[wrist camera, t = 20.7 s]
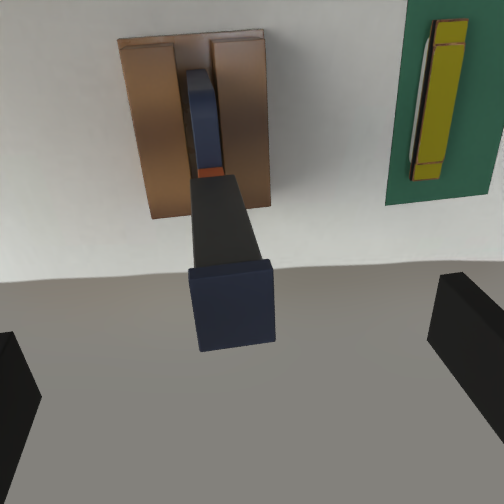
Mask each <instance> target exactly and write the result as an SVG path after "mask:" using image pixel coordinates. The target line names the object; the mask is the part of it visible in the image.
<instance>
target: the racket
mask: <svg viewBox="0 0 504 504" xmlns="http://www.w3.org/2000/svg"><path fill="white" fill-rule="evenodd" d="M186 75H187V86H188V96H189V105H190V113H191V121H192V129H193V137H194V145H195V153H196V161H197V169H198V178H193V179H190V198H191V217H192V236H193V255H194V268H190V269H189V270H188V279H189V287H190V293H191V299H192V306H193V312H194V319H195V325H196V332H197V338H198V344H199V350H200V352H205V351H212V350H219V349H226V348H233V347H241V346H248V345H254V344H261V343H268V342H275V340H276V334H275V305H274V277H273V268H272V265H271V262H270V260H269V259H262V256H261V253H260V250H259V247H258V244H257V241H256V238H255V235H254V232H253V229H252V226H251V223H250V220H249V217H248V214H247V211H246V208H245V204H244V201H243V198H242V195H241V192H240V189H239V186H238V183H237V180H236V177H235V175H234V174H232V175H224V171H223V167H222V157H221V146H220V135H219V124H218V114H217V105H216V97H215V91H214V88H213V86H212V83H211V81H210V79H209V76H208V74H207V72H206V69H196V70H186Z"/></svg>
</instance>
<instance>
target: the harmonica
mask: <svg viewBox="0 0 504 504" xmlns="http://www.w3.org/2000/svg"><path fill="white" fill-rule="evenodd" d="M468 21H469V19H468V18H458V19H441V20H432V25H431V30H430V37H429V38H428V40H427V42H426V45H425V49H424V55H423V61H422V68H421V75H420V82H419V89H418V96H417V103H416V110H415V117H414V124H413V131H412V138H411V145H410V153H409V160H410V162H411V165H410V172H409V180H410V181H424V180H434V179H439V177H440V172H441V167H442V163H443V161H444V158H445V153H446V147H447V142H448V137H449V131H450V126H451V121H452V115H453V110H454V105H455V99H456V94H457V89H458V83H459V78H460V73H461V67H462V62H463V57H464V51H465V38H466V32H467V26H468Z"/></svg>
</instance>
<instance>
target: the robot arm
mask: <svg viewBox="0 0 504 504" xmlns="http://www.w3.org/2000/svg"><path fill="white" fill-rule="evenodd" d="M427 341H428V342H429V343H430V345H431V346H432V348H433V349H434V350H435V352H436V353H437V354H438V356H439V357H440V358H441V360H442V361H443V362H444V364H445V365H446V366H447V368H448V369H449V370H450V372H451V373H452V374H453V376H454V377H455V379H456V380H457V381H458V383H459V384H460V385H461V387H462V388H463V389H464V391H465V392H466V393H467V395H468V396H469V398H470V399H471V400H472V402H473V403H474V404H475V406H476V407H477V408H478V410H479V411H480V412H481V414H482V415H483V416H484V418H485V419H486V420H487V422H488V423H489V424H490V426H491V427H492V429H493V430H494V431H495V433H496V434H497V435H498V436H499V438H500V439H501V441H502V442H503V443H504V310H503V309H502V308H500V307H499V306H498V305H497V304H496V303H495V302H494V301H493V300H492V299H491V298H490V297H489V296H488V295H487V294H486V293H485V292H483V291H482V290H481V289H480V288H479V287H478V286H477V285H476V284H475V283H474V282H473V281H472V280H471V279H469V277H467V276H466V275H465V274H464V273H463V272H460V273H451V274H444V275H440V279H439V283H438V288H437V293H436V298H435V303H434V308H433V313H432V318H431V322H430V327H429V332H428V337H427ZM41 398H42V396H41V394H40V391H39V389H38V387H37V385H36V383H35V380H34V378H33V376H32V373H31V372H30V369H29V367H28V364H27V362H26V360H25V358H24V355H23V353H22V351H21V348H20V346H19V344H18V342H17V340H16V337H15V335H14V333H13V331H12V332H5V333H0V504H4V502H5V499H6V496H7V494H8V490H9V488H10V485H11V482H12V480H13V477H14V474H15V471H16V468H17V465H18V463H19V460H20V457H21V454H22V451H23V449H24V446H25V443H26V440H27V437H28V435H29V431H30V429H31V426H32V423H33V420H34V417H35V415H36V412H37V409H38V406H39V404H40V401H41Z"/></svg>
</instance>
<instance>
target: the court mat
mask: <svg viewBox="0 0 504 504" xmlns="http://www.w3.org/2000/svg"><path fill="white" fill-rule="evenodd" d="M458 18H468V19H469V21H468V26H467V32H466V38H465V51H464V57H463V62H462V67H461V73H460V78H459V83H458V89H457V94H456V99H455V105H454V110H453V115H452V121H451V126H450V131H449V137H448V142H447V147H446V153H445V158H444V161H443V163H442V167H441V172H440V177H439V179H434V180H424V181H410V180H409V172H410V165H411V162H410V160H409V153H410V145H411V138H412V131H413V124H414V117H415V110H416V103H417V96H418V89H419V82H420V75H421V68H422V61H423V55H424V49H425V45H426V42H427V40H428V38H429V37H430V30H431V25H432V20H441V19H458ZM503 127H504V0H408V6H407V15H406V24H405V33H404V42H403V51H402V59H401V68H400V77H399V86H398V95H397V104H396V113H395V122H394V130H393V139H392V148H391V157H390V166H389V175H388V184H387V193H386V202H385V206H387V205H396V204H404V203H413V202H422V201H431V200H440V199H449V198H457V197H466V196H475V195H484V194H488V190H489V185H490V181H491V177H492V173H493V169H494V165H495V161H496V156H497V152H498V148H499V144H500V140H501V136H502V132H503Z"/></svg>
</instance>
